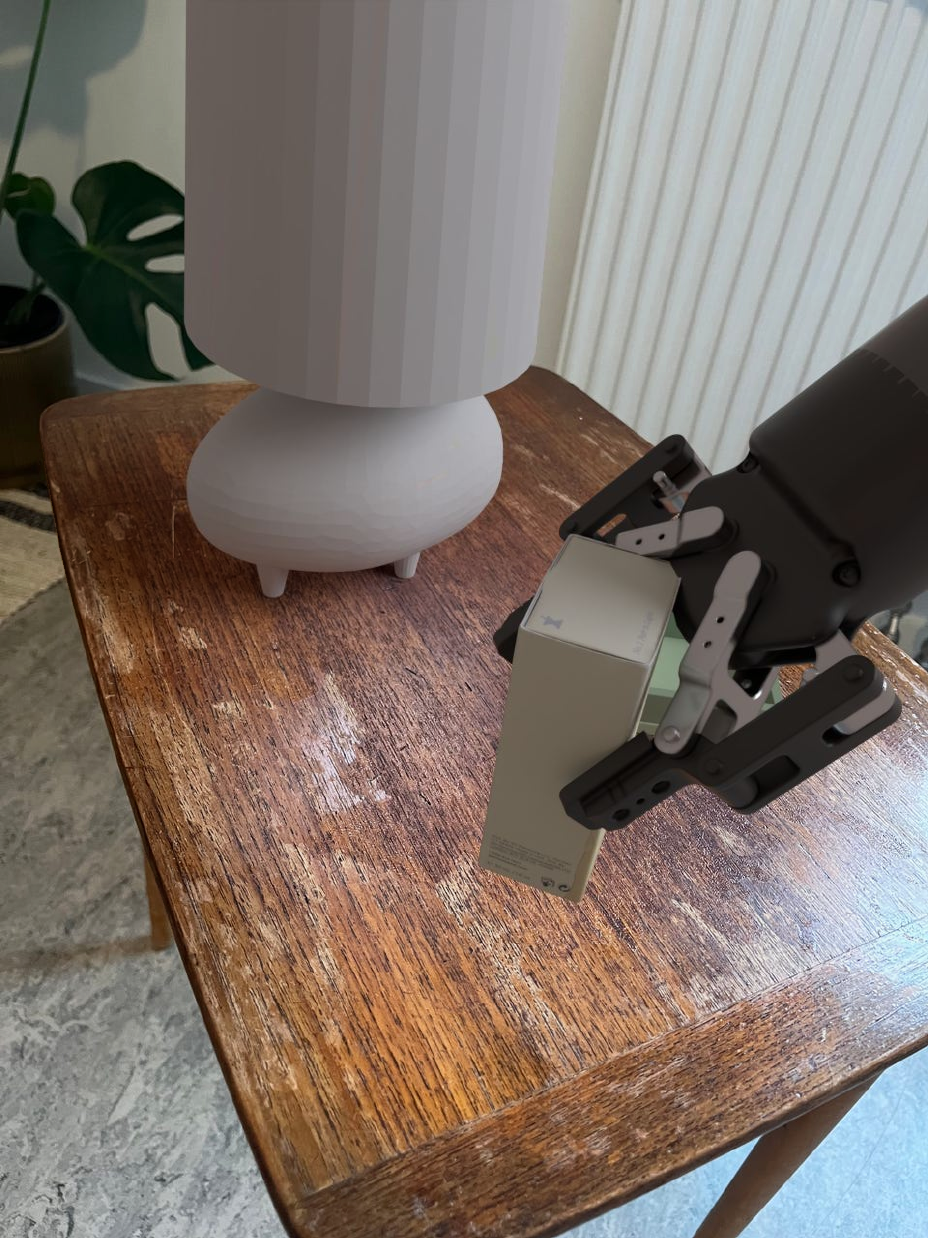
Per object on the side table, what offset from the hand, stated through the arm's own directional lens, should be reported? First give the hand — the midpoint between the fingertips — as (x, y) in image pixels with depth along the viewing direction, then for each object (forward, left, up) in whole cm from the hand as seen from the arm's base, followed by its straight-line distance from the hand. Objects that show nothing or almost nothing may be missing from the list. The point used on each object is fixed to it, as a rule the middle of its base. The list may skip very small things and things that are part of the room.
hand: (538, 729), depth 35 cm
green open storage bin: (+24, -13, -19) cm, 34 cm away
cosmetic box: (+1, -1, -6) cm, 6 cm away
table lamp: (+32, +12, -19) cm, 39 cm away
